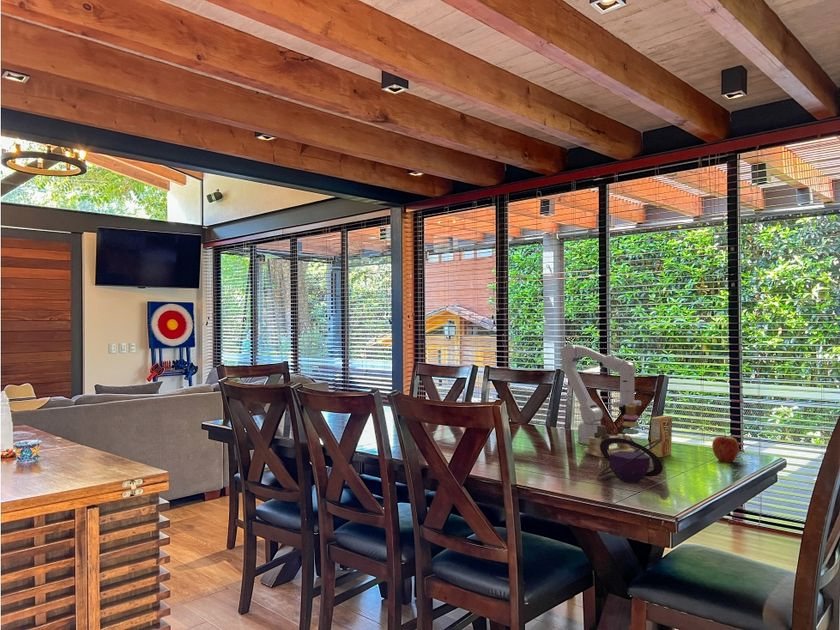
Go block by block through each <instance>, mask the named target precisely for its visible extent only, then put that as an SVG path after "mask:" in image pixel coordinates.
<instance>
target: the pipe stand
mask: <svg viewBox="0 0 840 630" xmlns="http://www.w3.org/2000/svg"><path fill="white" fill-rule="evenodd" d="M603 438H604V437H600V438H594V437H588V445H587V448H583V453H585V454H588V455H593V456H596V457H599V458H605V457H604V456H603V454H602V452H601V450H600V444H601V442H602V441H603ZM609 438H620V439H626V440H629V441H631V436H630V435H629V434H625V433H618V434H617V435H611V436H610V435H609ZM635 449H636V448H631V445H628V444H624V443H612V444H610V445H609V450H607V452H608V454H609V456H610V454H613V453H615V451H616V452H618V451H626V452H627V451H628V452H634V451H636V450H635Z"/></svg>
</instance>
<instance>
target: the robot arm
mask: <svg viewBox="0 0 840 630" xmlns="http://www.w3.org/2000/svg"><path fill="white" fill-rule="evenodd" d="M560 356H561V369H562V370H563V372H564V375H565V377H566V379H567V381H568V382H569V385H570V386H571V389H572V391H573V393H574V395H575V397H576V399H577V401H578V402H579V410H580V417H581V418H580V419H581V420H582V422H580V423H579V424H578V426H577V440H576V443H579V444H583V445H587V446H588V437H594V433H596V432H597V426H600V425H601V426H602V424H601V423H602V422H601V420H602V419H603V417H604V412H603V410H602V409H601V408H600V407H599V406H598V405H597V403H596V402H595V400H593V399H592V397H591V396H590V394H589V392H588V390H587V388H586V386H585V384H584V382H583V380H582V377H581V375H580V374H579V372H578V370H577V368H576V366H577V364H578V361H580V360H581V358H582V357H585V358H589V359H591V360H594V361H597V362H600V363H602V365H603V367H604V368H606V369H609V370H611V371H614V372H615V373H618V374H619V377H620V378H619V400H618V401H614V402H612V407H613V408H618V410H619V411H620V413H621V417H622V420H623V423H624V422H625V421H626V422H632V420H630V419H624V418H623V416H624V415H625V414H626V409H625V406H626V405H633V406H636V407H637V406H642V400H640V399H639V400H635V374H636V372H637V366H636V364H635V363H633V362H632V361H626V359H624V358H623V359H621V358H619V357H616V355H615V354H607V355H604V354H602V353H600V352H597V351H596V350H593V349H591V348H589V347H587V346H585V345H581V344H577V343H576V344H566V345H564V346H563V348H562V349H561V351H560ZM632 415H634V414H632Z"/></svg>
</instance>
